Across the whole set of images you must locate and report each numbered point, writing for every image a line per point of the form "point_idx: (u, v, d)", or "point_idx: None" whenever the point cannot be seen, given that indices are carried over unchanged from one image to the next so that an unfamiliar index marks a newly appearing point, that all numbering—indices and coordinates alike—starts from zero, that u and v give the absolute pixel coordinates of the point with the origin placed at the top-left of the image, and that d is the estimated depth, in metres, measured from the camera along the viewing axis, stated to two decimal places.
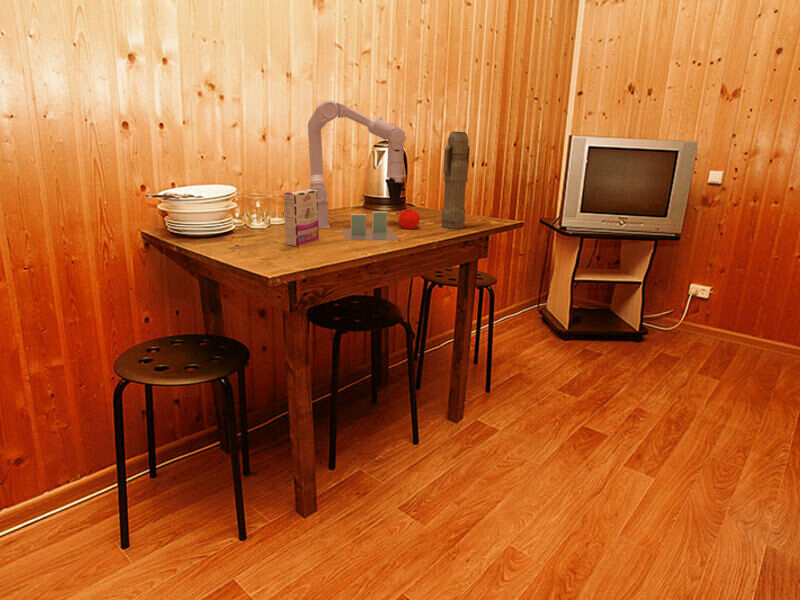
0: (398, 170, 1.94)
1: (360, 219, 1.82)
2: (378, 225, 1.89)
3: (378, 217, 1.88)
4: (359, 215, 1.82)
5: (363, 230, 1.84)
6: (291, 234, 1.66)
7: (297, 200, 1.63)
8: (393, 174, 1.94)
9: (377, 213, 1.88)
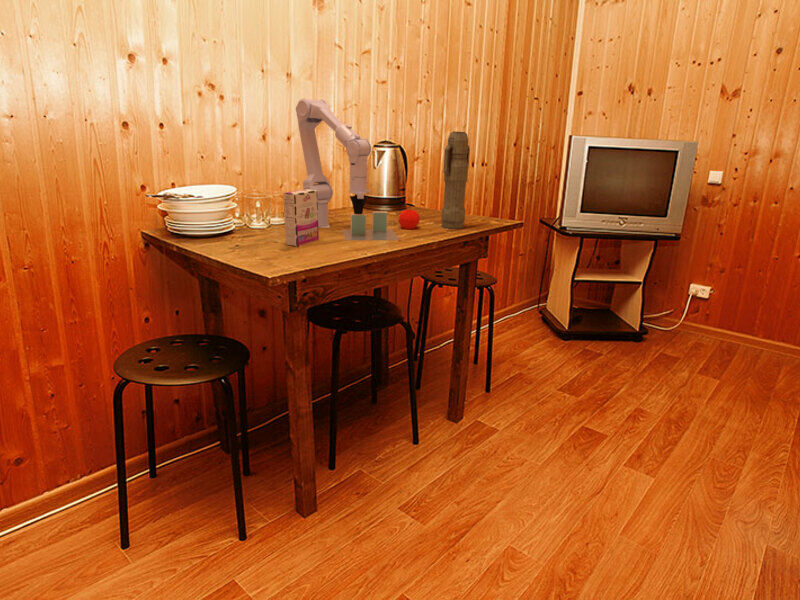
0: (361, 186, 1.78)
1: (360, 219, 1.82)
2: (378, 225, 1.89)
3: (378, 217, 1.88)
4: (359, 215, 1.82)
5: (363, 230, 1.84)
6: (291, 234, 1.66)
7: (297, 200, 1.63)
8: (356, 190, 1.79)
9: (377, 213, 1.88)
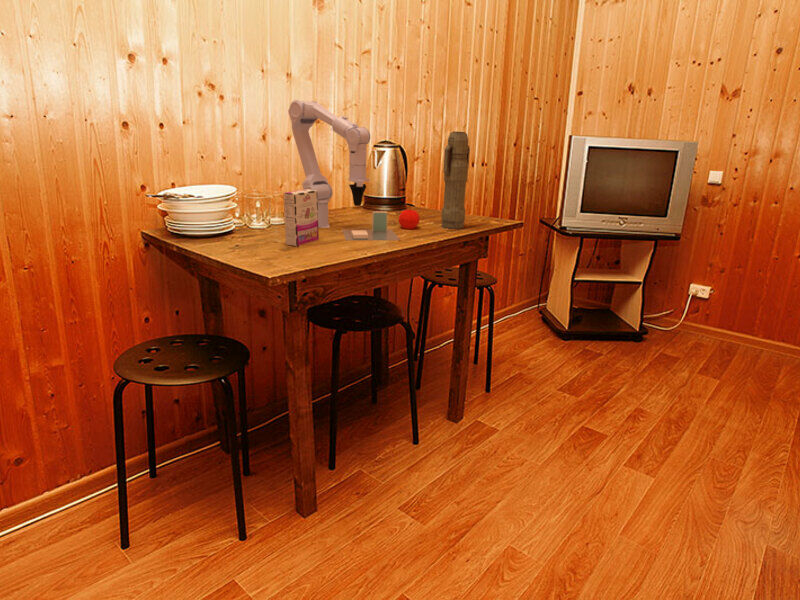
0: (360, 174, 1.79)
1: None
2: (378, 225, 1.89)
3: (378, 217, 1.88)
4: (361, 238, 1.78)
5: None
6: (291, 234, 1.66)
7: (297, 200, 1.63)
8: (355, 178, 1.80)
9: (377, 213, 1.88)
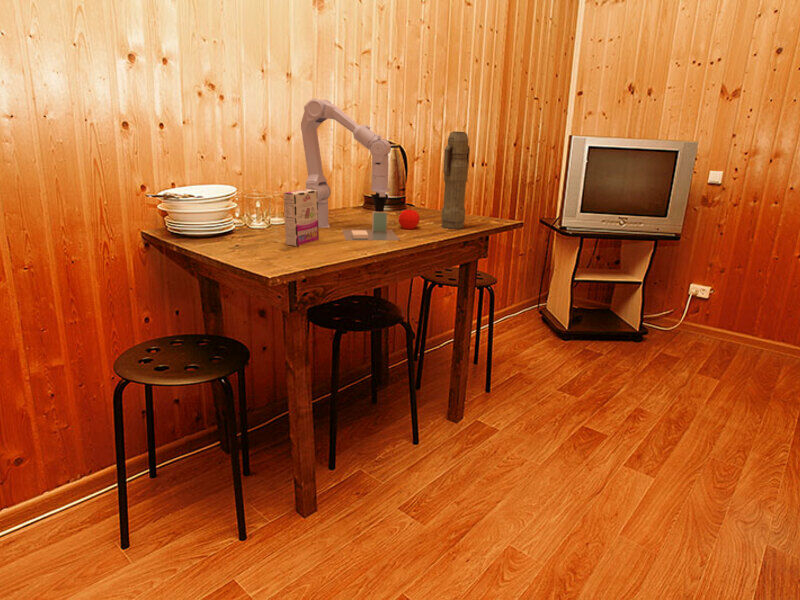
0: (382, 184, 1.85)
1: None
2: (378, 225, 1.89)
3: (378, 217, 1.88)
4: (361, 238, 1.78)
5: None
6: (291, 234, 1.66)
7: (297, 200, 1.63)
8: (377, 188, 1.85)
9: (377, 213, 1.88)
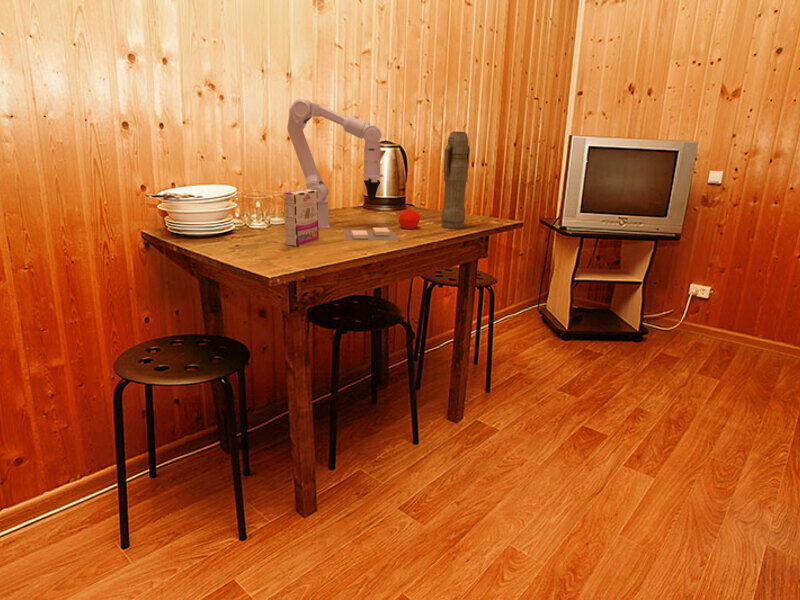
0: (374, 170, 1.89)
1: None
2: None
3: None
4: (361, 238, 1.78)
5: None
6: (291, 234, 1.66)
7: (297, 200, 1.63)
8: (370, 174, 1.89)
9: (379, 235, 1.84)
